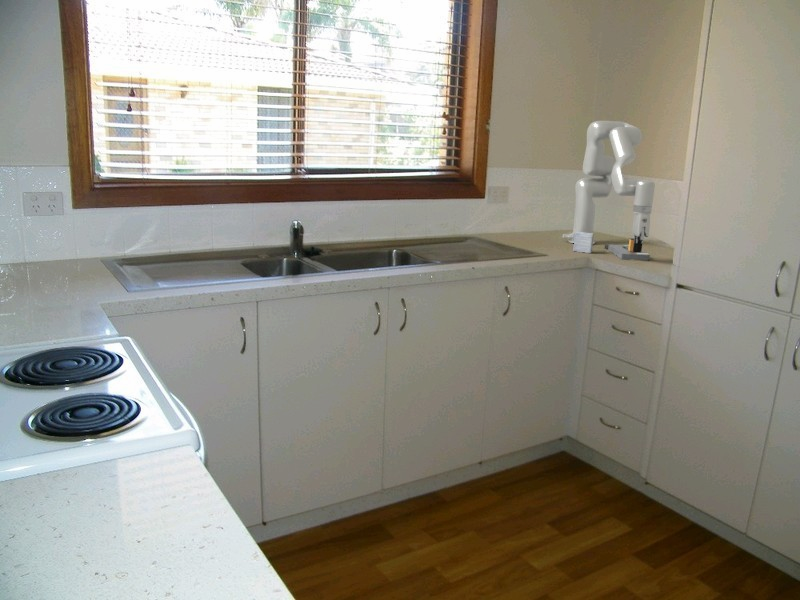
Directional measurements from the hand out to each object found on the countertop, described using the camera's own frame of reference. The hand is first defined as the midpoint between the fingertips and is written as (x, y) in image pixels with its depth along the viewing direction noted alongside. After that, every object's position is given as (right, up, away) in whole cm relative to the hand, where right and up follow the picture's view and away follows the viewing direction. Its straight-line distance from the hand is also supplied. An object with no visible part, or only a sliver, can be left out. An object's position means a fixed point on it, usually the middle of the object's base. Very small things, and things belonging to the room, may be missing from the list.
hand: (637, 252), depth 304 cm
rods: (+1, +3, +28) cm, 28 cm away
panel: (0, 0, +13) cm, 13 cm away
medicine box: (-19, +1, +16) cm, 25 cm away
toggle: (0, -2, +8) cm, 8 cm away
